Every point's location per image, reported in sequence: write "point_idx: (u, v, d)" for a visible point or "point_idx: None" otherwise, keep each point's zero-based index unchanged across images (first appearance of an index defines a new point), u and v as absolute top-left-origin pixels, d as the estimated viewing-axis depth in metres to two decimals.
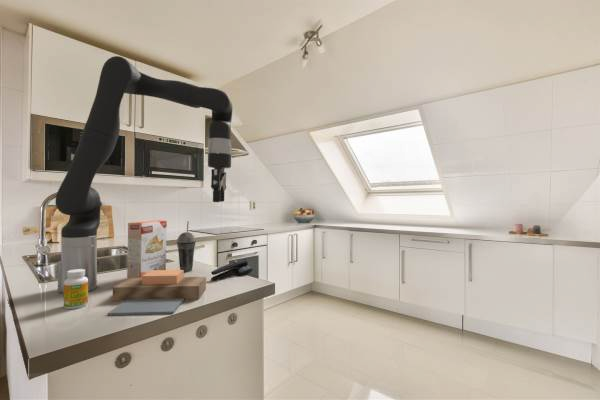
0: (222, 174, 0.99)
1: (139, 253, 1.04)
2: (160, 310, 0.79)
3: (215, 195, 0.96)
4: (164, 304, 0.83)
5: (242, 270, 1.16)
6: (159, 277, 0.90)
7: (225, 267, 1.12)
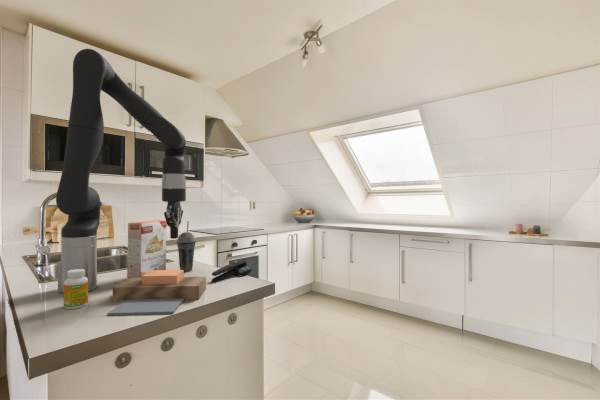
0: (176, 210, 1.02)
1: (139, 253, 1.04)
2: (160, 310, 0.79)
3: (172, 232, 1.02)
4: (164, 304, 0.83)
5: (242, 270, 1.16)
6: (159, 277, 0.90)
7: (225, 268, 1.11)
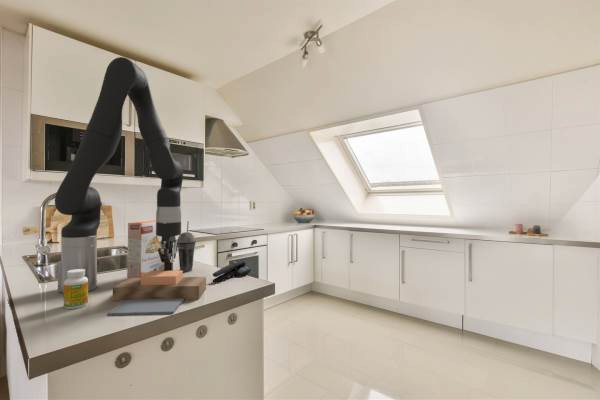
0: (171, 245, 0.96)
1: (139, 253, 1.04)
2: (160, 310, 0.79)
3: (166, 268, 0.97)
4: (164, 304, 0.83)
5: (241, 270, 1.15)
6: (158, 278, 0.89)
7: (226, 268, 1.10)
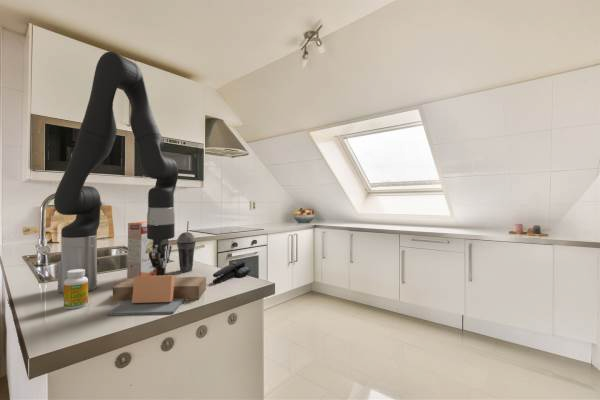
0: (163, 248, 0.89)
1: (139, 253, 1.04)
2: (160, 310, 0.79)
3: (158, 274, 0.89)
4: (164, 304, 0.83)
5: (241, 271, 1.15)
6: None
7: (226, 269, 1.09)
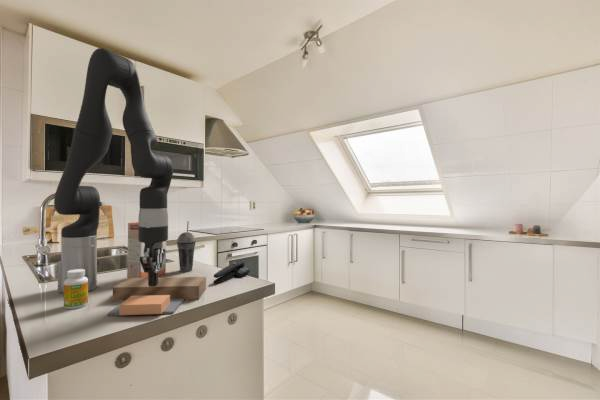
0: (155, 252, 0.83)
1: (139, 253, 1.04)
2: None
3: (150, 279, 0.84)
4: None
5: (241, 271, 1.14)
6: None
7: (226, 269, 1.09)
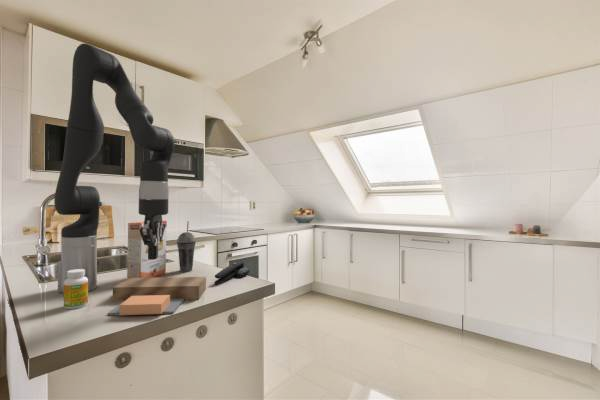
0: (156, 225, 0.83)
1: (139, 253, 1.04)
2: None
3: (150, 252, 0.84)
4: None
5: (241, 271, 1.14)
6: None
7: (227, 270, 1.08)
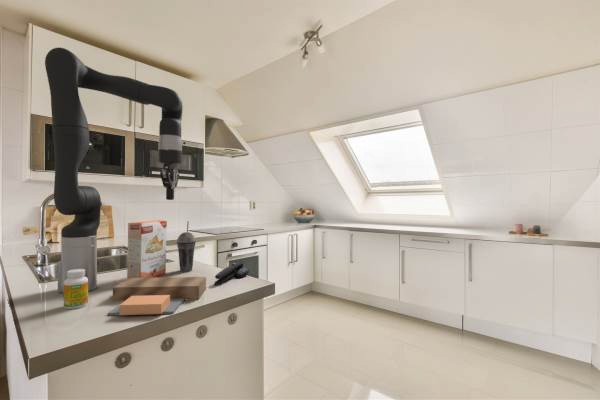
0: (172, 171, 1.03)
1: (139, 253, 1.04)
2: None
3: (168, 193, 1.03)
4: None
5: (241, 272, 1.13)
6: None
7: (227, 270, 1.07)
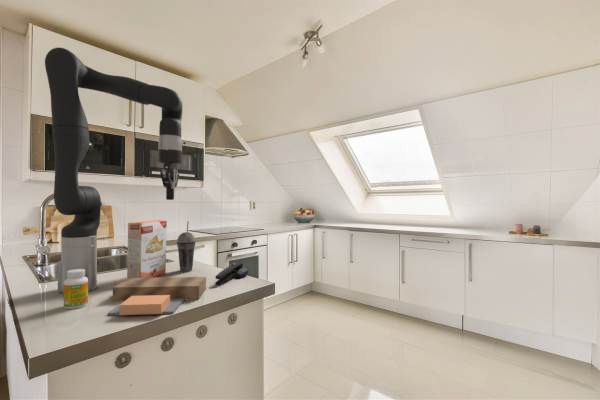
0: (172, 171, 1.03)
1: (139, 253, 1.04)
2: None
3: (168, 193, 1.04)
4: None
5: (241, 272, 1.13)
6: None
7: (227, 270, 1.07)
